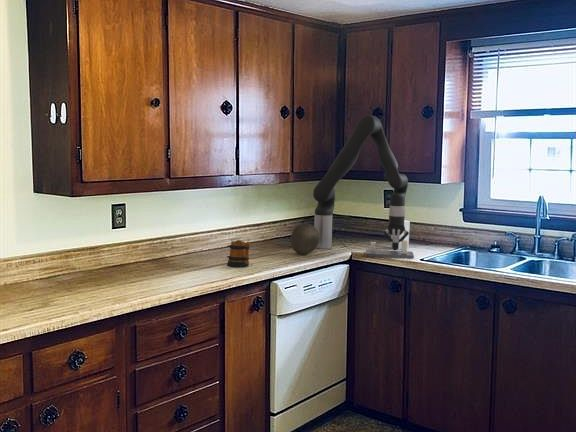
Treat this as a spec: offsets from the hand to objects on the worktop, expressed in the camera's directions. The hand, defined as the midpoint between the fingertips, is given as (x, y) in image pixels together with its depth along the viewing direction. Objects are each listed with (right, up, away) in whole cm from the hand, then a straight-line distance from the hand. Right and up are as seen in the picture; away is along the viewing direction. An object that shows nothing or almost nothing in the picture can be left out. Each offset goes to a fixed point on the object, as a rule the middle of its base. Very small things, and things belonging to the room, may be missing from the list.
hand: (395, 249), depth 314 cm
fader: (+4, -1, 0) cm, 5 cm away
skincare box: (+6, -1, +23) cm, 24 cm away
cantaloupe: (-44, -2, -2) cm, 45 cm away
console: (-3, -3, +2) cm, 4 cm away
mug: (-74, -6, -33) cm, 81 cm away
